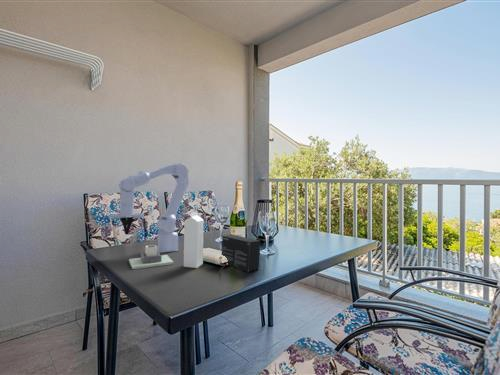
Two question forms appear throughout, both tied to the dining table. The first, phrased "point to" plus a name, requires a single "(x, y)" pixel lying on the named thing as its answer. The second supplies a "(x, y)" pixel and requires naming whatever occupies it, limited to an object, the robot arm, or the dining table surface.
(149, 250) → the plug
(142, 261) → the board
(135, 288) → the dining table surface
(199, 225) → the milk
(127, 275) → the dining table surface
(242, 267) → the box
